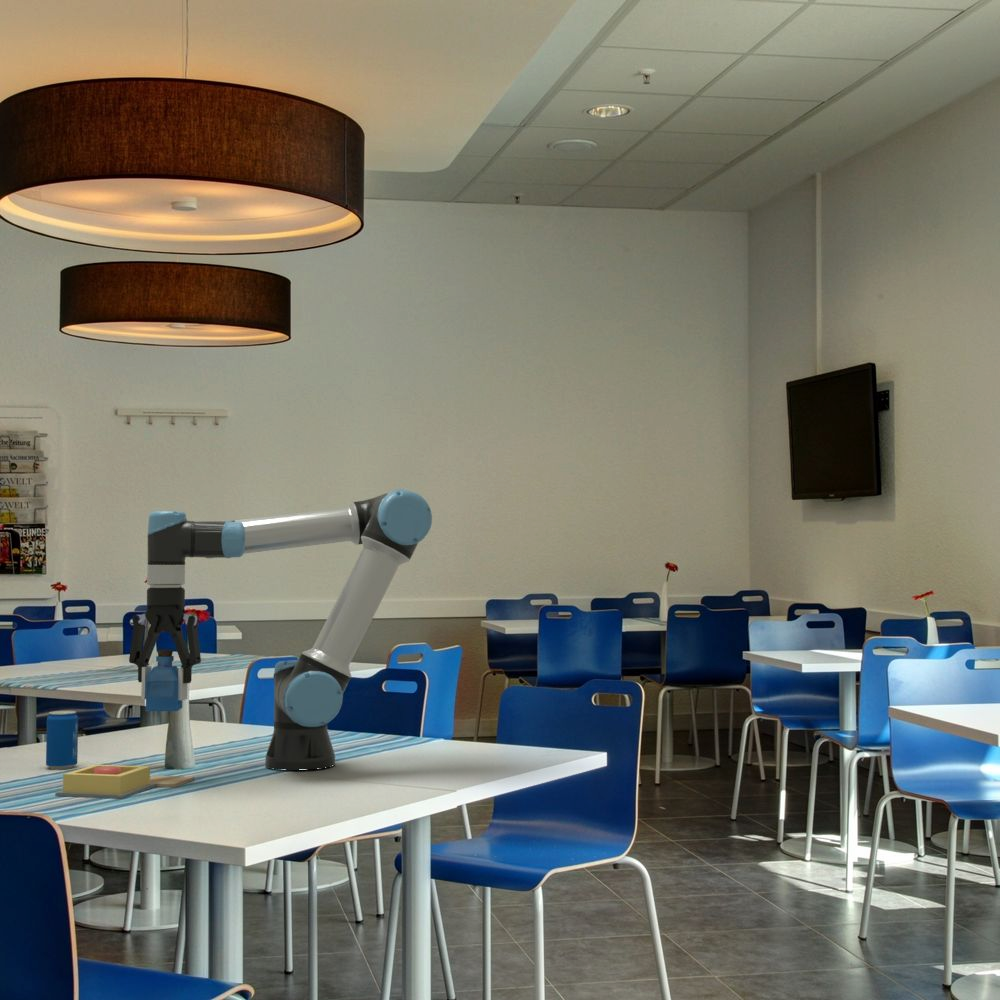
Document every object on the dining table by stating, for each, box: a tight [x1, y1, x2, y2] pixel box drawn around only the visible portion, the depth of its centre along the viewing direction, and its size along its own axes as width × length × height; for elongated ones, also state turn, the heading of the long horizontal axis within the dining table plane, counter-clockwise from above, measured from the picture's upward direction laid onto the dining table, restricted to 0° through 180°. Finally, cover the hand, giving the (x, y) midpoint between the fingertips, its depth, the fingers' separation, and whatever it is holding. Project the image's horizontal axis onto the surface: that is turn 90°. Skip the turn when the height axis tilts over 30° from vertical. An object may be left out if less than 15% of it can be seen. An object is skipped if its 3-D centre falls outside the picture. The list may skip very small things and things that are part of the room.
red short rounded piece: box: [94, 766, 121, 775], centre depth 255 cm, size 5×5×3 cm
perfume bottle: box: [145, 649, 183, 712], centre depth 265 cm, size 6×6×12 cm
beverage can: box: [45, 710, 79, 770], centre depth 284 cm, size 6×6×12 cm
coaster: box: [150, 774, 195, 788], centre depth 264 cm, size 9×9×1 cm
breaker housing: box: [54, 764, 157, 800], centre depth 255 cm, size 14×14×4 cm
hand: (164, 699), depth 265 cm, fingers closed on perfume bottle, 7 cm apart
